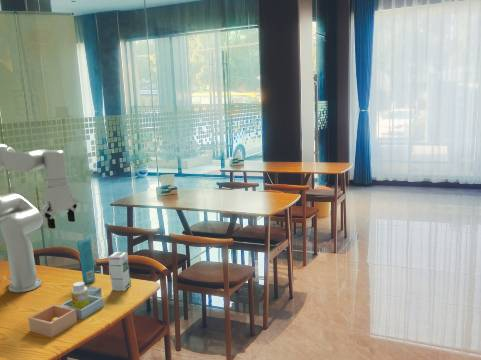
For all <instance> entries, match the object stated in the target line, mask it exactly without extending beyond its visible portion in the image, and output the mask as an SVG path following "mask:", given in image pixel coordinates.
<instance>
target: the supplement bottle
mask: <svg viewBox="0 0 481 360" xmlns="http://www.w3.org/2000/svg"><path fill="white" fill-rule="evenodd" d="M85 284H86V283H84V282H83V281H77V282H74V283H72V289H71V299H72V301H73V307H74V308H78V309H83V308H84V307H86V306H88V305H89V297H88V289H87V287H85V286H86V285H85Z"/></svg>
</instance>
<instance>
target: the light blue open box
mask: <svg viewBox="0 0 481 360" xmlns="http://www.w3.org/2000/svg"><path fill="white" fill-rule="evenodd" d="M88 297H89V305H88V306H86V307H84V308H83V309H78V308H74V307H73V301H72V298H71V299H69V300H67V301H65V302H64V303H62V304H60V305H59V306H62V307H67V308H71V309H75V310H76V317H77V319H80V320H83V319H84V320H85V318H87V317H88V316H91V315H92V314H94V313H95V312H97V311H99V310H100V309H102V308H104V307H105V304H104V298H103V297H96V296H91V295H88Z"/></svg>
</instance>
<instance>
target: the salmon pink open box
mask: <svg viewBox="0 0 481 360" xmlns="http://www.w3.org/2000/svg"><path fill="white" fill-rule="evenodd" d="M55 317H57V319H56V320H54V321H52V322H51V320H52V319H53V318H55ZM77 319H78V318H77V317H76V310H75V309H71V308H67V307H62V306H60V305H57V304H52V305H50V306H49V307H45V309H43V310H41V311H38V312H37V313H35V314H33V315H31V316H29V317H28V318H27V320H28V326H29V331H30V332H31V333H32V332H33V333H36V334H39V335H43V336H45V337H49V338H53V337H55V336H57V335H59V334H60V333H62V332H63V331H65V330H67V329H68V328H70V327H72V326H74V325H75V324H76V323H78V320H77Z"/></svg>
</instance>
